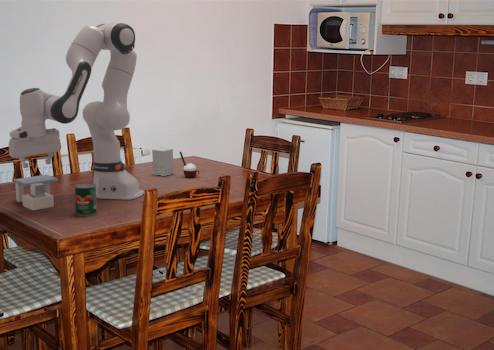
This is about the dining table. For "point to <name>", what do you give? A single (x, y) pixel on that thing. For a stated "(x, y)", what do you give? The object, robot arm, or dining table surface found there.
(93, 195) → the canned tomato
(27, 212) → the dining table surface
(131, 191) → the robot arm
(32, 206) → the awning stand
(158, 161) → the grey fluted block
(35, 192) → the metal peg
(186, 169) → the cocoa
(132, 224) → the dining table surface
